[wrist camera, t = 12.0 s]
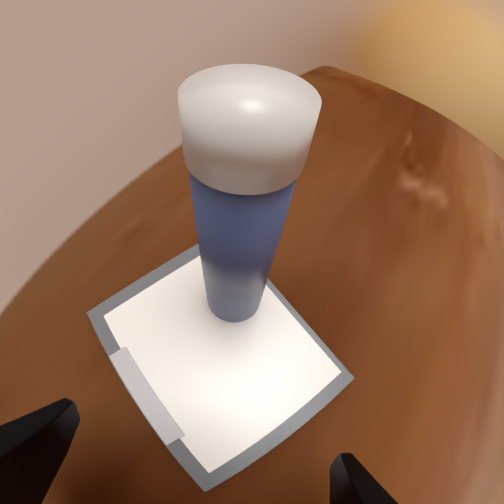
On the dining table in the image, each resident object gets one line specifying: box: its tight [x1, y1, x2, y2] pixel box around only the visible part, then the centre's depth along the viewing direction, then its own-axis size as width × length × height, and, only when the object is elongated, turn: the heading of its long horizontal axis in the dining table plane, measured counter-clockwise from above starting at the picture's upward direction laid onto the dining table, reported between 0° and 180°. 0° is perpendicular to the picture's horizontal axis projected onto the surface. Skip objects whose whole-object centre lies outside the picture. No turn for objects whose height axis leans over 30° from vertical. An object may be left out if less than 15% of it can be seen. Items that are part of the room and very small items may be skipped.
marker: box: [178, 64, 322, 323], centre depth 12 cm, size 3×3×13 cm
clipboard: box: [87, 244, 354, 492], centre depth 15 cm, size 11×13×1 cm
